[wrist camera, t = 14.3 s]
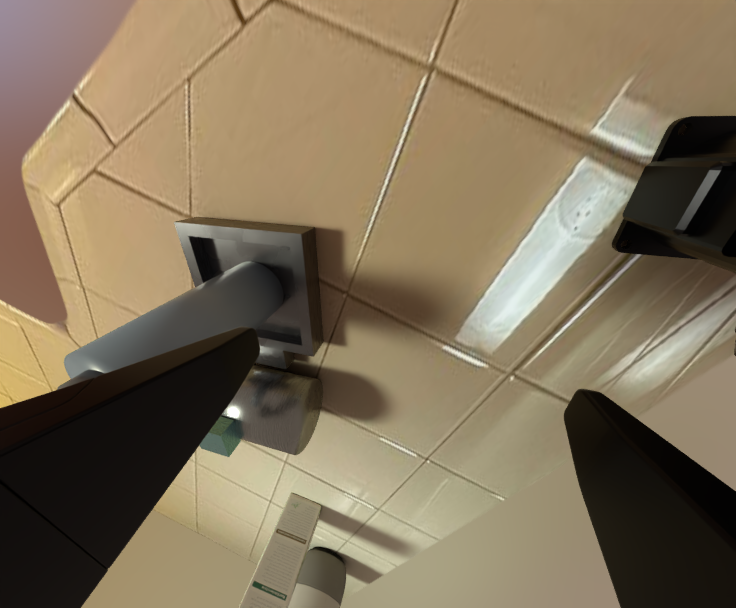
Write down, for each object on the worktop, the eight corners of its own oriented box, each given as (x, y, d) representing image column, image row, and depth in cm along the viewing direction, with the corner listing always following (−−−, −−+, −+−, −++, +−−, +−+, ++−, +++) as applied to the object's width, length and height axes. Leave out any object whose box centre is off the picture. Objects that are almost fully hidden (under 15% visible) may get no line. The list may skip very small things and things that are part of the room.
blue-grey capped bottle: (278, 264, 21) (100, 380, 10) (287, 316, 24) (152, 454, 13) (225, 259, 22) (14, 358, 11) (240, 309, 25) (77, 430, 14)
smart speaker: (352, 556, 49) (321, 683, 37) (348, 572, 53) (320, 690, 41) (305, 537, 50) (262, 653, 38) (306, 555, 55) (267, 663, 43)
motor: (314, 227, 20) (242, 263, 13) (328, 411, 30) (291, 488, 23) (196, 216, 22) (79, 242, 15) (246, 391, 33) (190, 455, 25)
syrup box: (290, 491, 43) (226, 625, 30) (323, 505, 42) (272, 648, 30) (288, 506, 46) (230, 634, 33) (320, 520, 45) (272, 655, 32)
